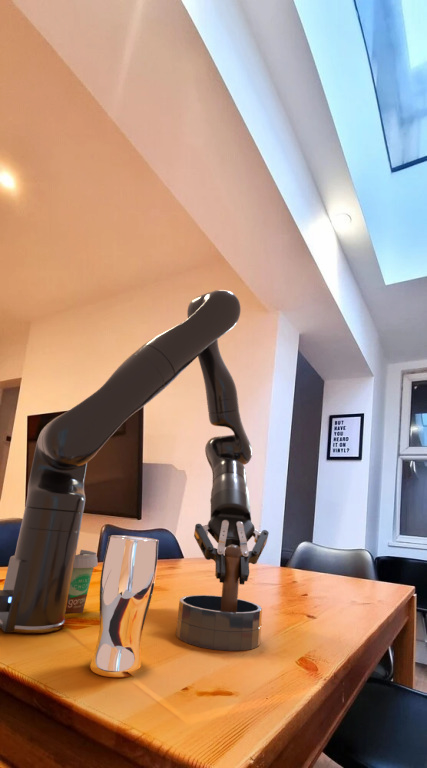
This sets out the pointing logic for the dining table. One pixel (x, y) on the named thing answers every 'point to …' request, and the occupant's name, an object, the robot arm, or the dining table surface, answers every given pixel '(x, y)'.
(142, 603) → the beer glass
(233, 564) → the rod
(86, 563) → the food container
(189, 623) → the bowl
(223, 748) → the dining table surface
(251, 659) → the dining table surface
